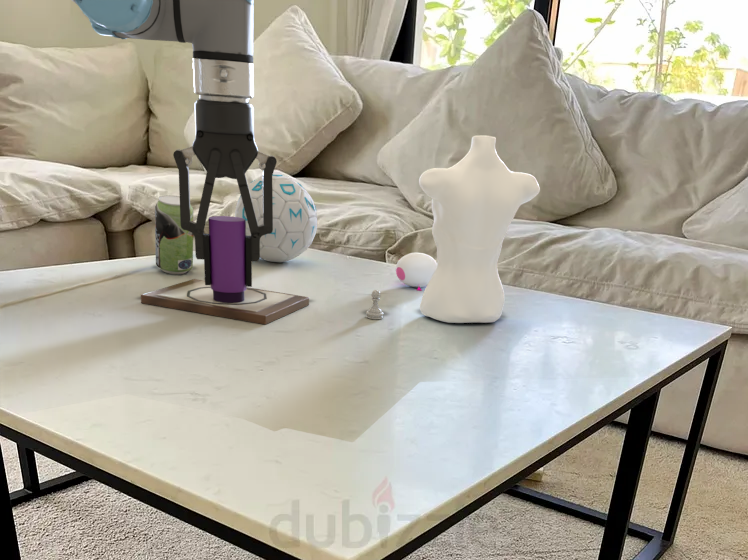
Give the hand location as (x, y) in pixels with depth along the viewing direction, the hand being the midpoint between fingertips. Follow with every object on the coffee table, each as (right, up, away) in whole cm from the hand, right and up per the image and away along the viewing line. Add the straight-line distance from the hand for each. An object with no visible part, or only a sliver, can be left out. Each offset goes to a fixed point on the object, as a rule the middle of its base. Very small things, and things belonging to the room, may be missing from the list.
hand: (228, 283), depth 111 cm
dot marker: (0, -2, +1) cm, 2 cm away
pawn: (+21, -4, +3) cm, 21 cm away
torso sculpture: (+34, -3, +7) cm, 35 cm away
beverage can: (-13, +8, +21) cm, 26 cm away
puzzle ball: (+2, +15, +36) cm, 39 cm away
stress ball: (+27, +7, +25) cm, 38 cm away
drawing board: (-1, -2, +4) cm, 4 cm away
